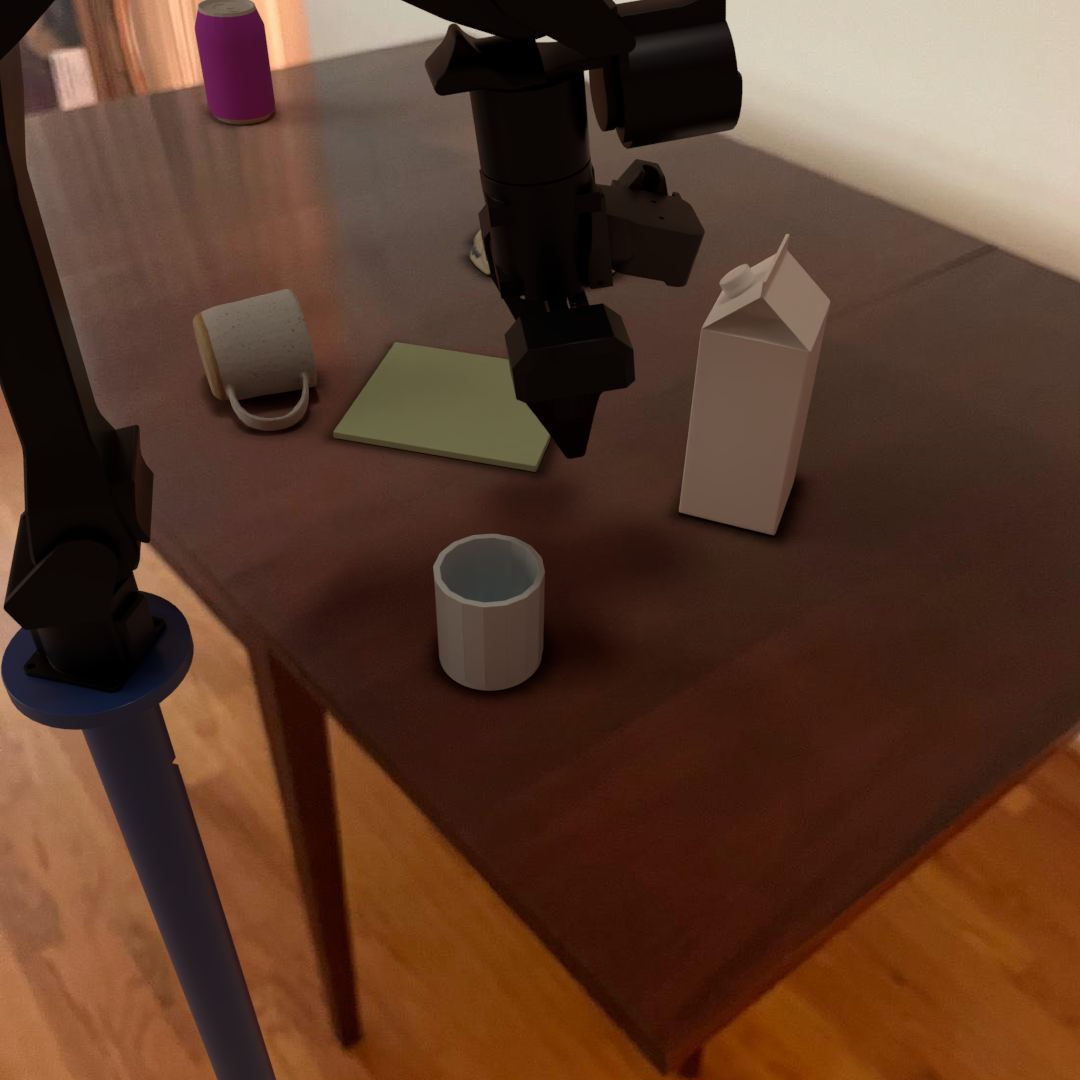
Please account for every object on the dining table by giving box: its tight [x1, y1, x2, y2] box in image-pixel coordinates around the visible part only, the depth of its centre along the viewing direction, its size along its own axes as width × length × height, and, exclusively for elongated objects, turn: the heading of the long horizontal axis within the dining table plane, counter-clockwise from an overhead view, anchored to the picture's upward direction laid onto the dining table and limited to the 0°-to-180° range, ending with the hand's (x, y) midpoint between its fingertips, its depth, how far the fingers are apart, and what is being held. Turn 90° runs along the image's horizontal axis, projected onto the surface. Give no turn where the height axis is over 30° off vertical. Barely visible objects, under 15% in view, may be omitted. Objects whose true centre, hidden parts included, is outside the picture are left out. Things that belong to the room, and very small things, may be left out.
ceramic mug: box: [192, 288, 318, 432], centre depth 88 cm, size 11×8×8 cm
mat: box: [332, 341, 552, 473], centre depth 91 cm, size 16×14×1 cm
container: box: [432, 533, 546, 692], centre depth 69 cm, size 6×6×7 cm
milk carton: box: [678, 233, 831, 536], centre depth 78 cm, size 7×7×19 cm
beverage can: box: [194, 0, 276, 126], centre depth 131 cm, size 8×8×12 cm
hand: (563, 411), depth 70 cm, fingers open, 9 cm apart
